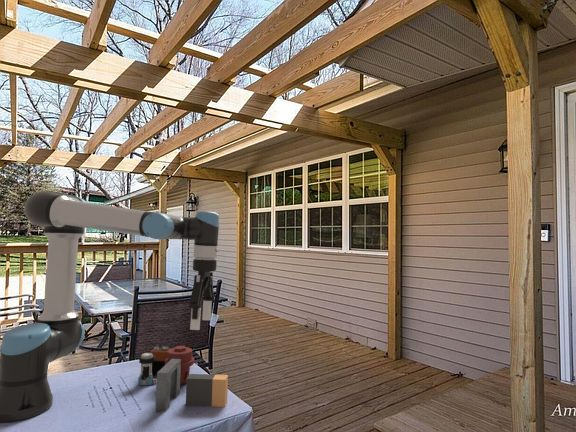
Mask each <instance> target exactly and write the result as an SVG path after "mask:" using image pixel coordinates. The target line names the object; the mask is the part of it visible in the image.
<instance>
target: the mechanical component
mask: <svg viewBox="0 0 576 432" xmlns="http://www.w3.org/2000/svg"><path fill="white" fill-rule="evenodd" d="M171 359H181V372H180V386H181V385H184V384H186V382H187V377H188V376H189V375H190V370H191V368H190V367H192V366H193V365H194V364H195V357H194V356H193V349H192V348H191V347H186V346H185V345H177V346H174V347H173V348H170V350H168V358H167V359H166V360H165V365H166V364H167V363H168V362H169V361H170V360H171Z"/></svg>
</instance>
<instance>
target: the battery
mask: <svg viewBox="0 0 576 432" xmlns="http://www.w3.org/2000/svg"><path fill="white" fill-rule="evenodd" d="M170 349H171V348H169V346H162V347H159V346H155V347H154V348H153V349H152V350H150V352H149V353H152V355H153V356H155V358H154V362H152V375H154V377H157V372H158V371H160V370H161V369H162V368H163V367H164V366H165V360H166V359H167V358H168V350H170Z"/></svg>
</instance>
